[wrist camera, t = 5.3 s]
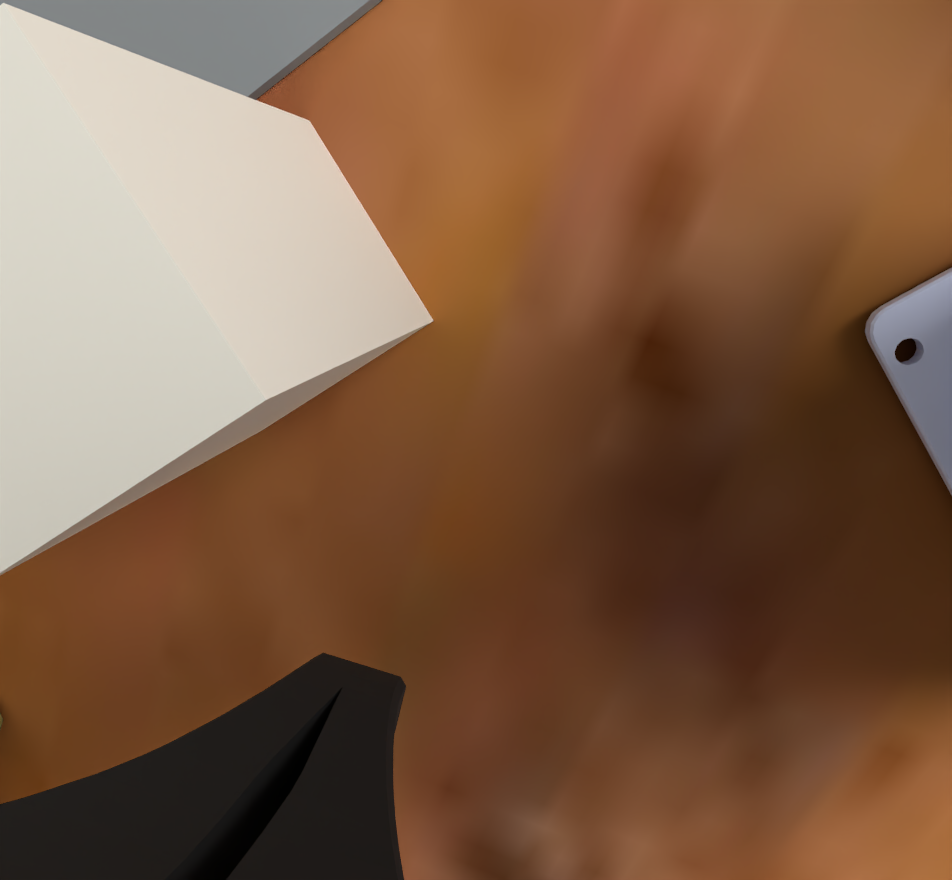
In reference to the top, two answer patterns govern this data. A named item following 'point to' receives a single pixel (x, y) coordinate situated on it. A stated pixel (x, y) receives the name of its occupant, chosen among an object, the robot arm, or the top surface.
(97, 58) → the block
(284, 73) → the grey flat panel
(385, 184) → the top surface
